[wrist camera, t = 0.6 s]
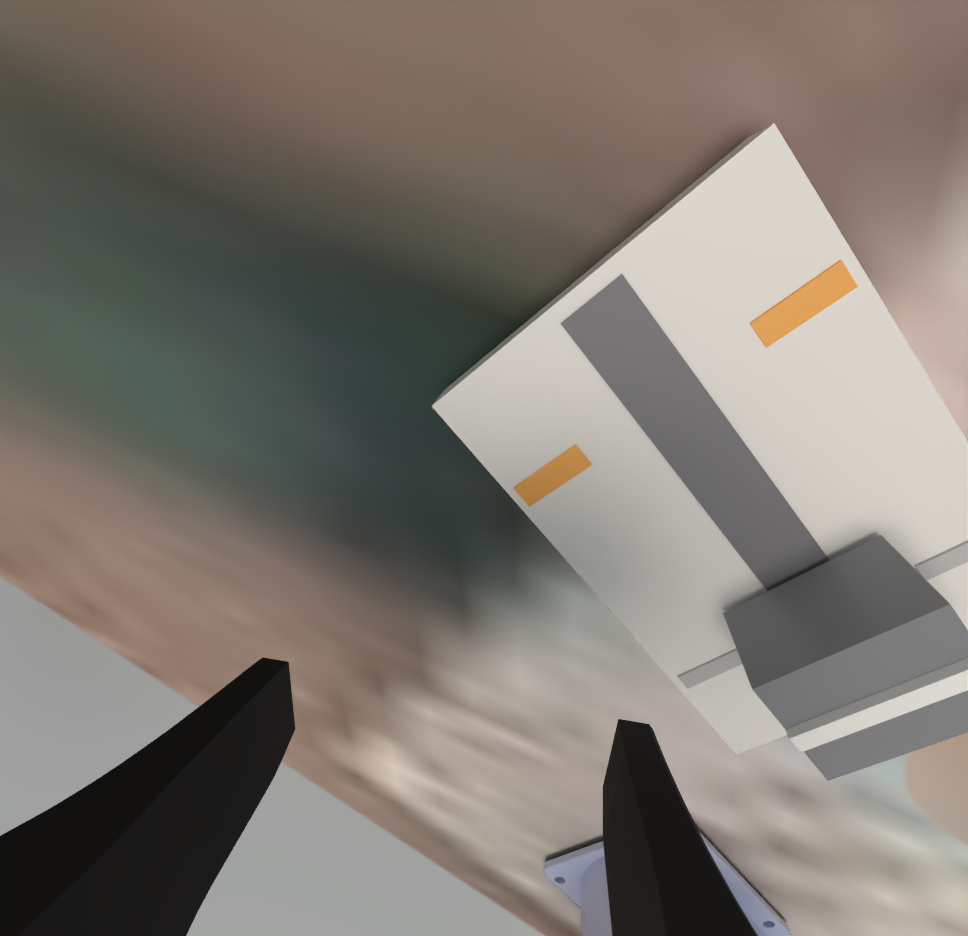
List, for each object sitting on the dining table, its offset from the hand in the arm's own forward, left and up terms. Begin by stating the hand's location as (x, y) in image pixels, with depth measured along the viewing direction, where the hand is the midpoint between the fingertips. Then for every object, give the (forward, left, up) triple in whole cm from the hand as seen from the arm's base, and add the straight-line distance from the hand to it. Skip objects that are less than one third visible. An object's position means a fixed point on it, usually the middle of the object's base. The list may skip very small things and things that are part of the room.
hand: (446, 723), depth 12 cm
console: (-4, -7, -9) cm, 12 cm away
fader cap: (-8, -7, -7) cm, 13 cm away
